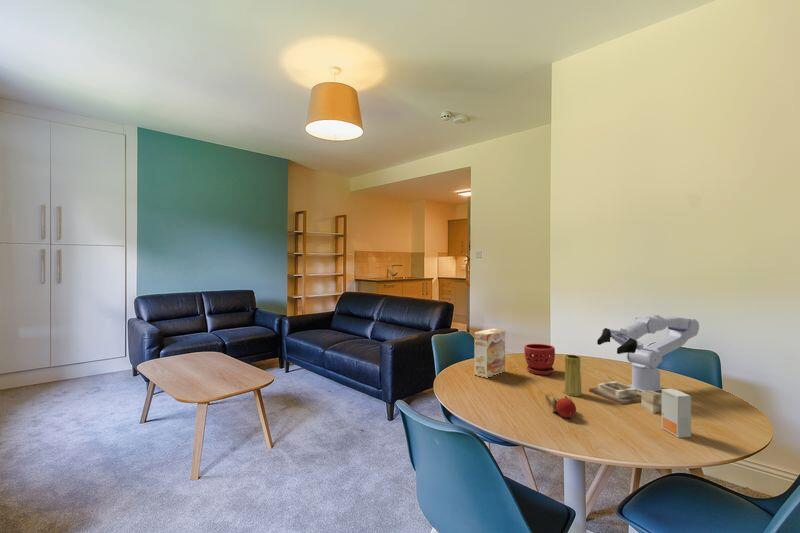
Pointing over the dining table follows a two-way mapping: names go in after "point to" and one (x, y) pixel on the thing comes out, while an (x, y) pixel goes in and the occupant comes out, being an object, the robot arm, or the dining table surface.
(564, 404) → the kendama
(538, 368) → the plant pot
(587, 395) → the dining table surface
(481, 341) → the coffeecake box
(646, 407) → the birch peg
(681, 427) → the skincare box
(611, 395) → the socket board
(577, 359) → the vase
